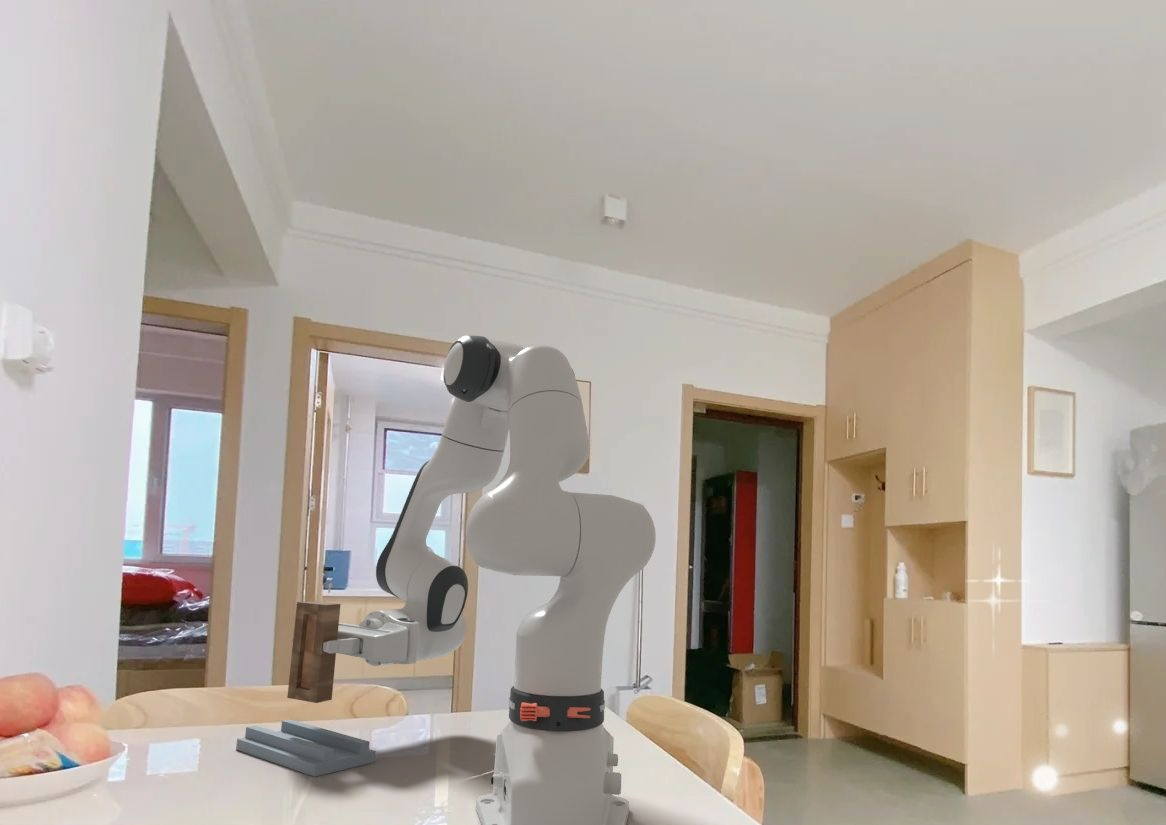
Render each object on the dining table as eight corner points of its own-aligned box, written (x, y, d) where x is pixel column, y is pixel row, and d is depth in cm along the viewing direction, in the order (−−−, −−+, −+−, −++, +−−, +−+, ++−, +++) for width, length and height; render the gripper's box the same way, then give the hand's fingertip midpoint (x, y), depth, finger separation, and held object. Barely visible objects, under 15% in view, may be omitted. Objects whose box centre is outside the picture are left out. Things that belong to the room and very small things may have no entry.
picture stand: (374, 761, 109) (376, 740, 110) (314, 776, 101) (316, 753, 102) (295, 737, 121) (297, 718, 121) (236, 749, 113) (238, 728, 114)
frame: (331, 699, 113) (340, 603, 115) (316, 703, 110) (325, 604, 112) (302, 694, 115) (312, 601, 118) (287, 697, 113) (297, 602, 115)
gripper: (346, 612, 131) (273, 616, 120) (426, 623, 119) (352, 628, 108) (343, 650, 130) (269, 657, 119) (423, 664, 118) (348, 674, 107)
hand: (309, 644), depth 113 cm, fingers closed on frame, 6 cm apart
